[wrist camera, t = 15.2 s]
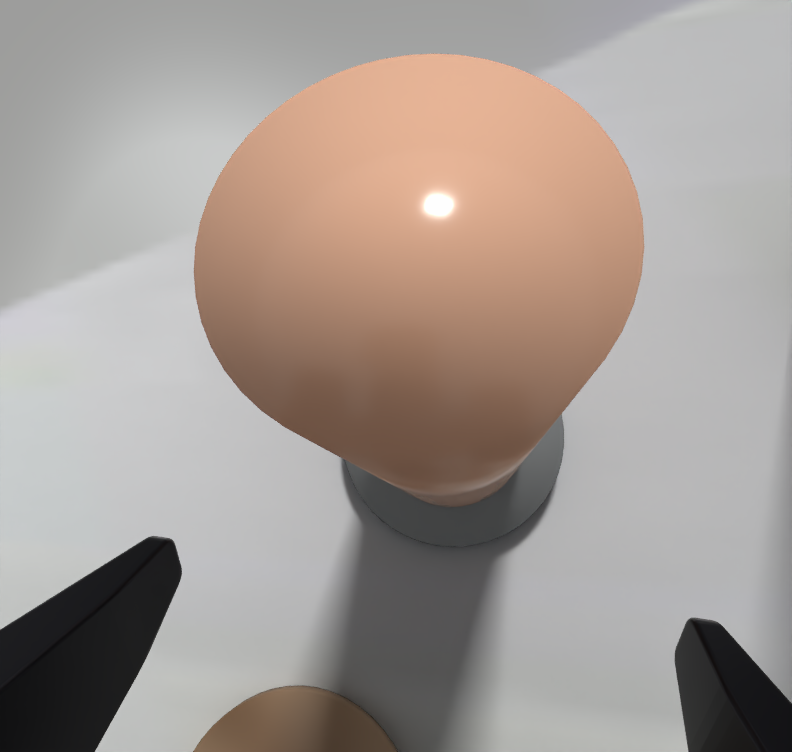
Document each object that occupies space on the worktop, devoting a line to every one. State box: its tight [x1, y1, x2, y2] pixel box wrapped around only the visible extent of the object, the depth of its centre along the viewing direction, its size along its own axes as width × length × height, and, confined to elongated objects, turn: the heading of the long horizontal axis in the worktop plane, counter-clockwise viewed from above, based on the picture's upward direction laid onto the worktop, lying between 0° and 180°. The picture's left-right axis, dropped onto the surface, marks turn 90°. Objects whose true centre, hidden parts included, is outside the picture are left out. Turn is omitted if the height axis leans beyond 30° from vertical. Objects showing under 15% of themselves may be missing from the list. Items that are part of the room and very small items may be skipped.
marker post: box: [194, 54, 644, 507], centre depth 12 cm, size 5×5×13 cm
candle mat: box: [345, 414, 564, 547], centre depth 19 cm, size 8×8×1 cm
